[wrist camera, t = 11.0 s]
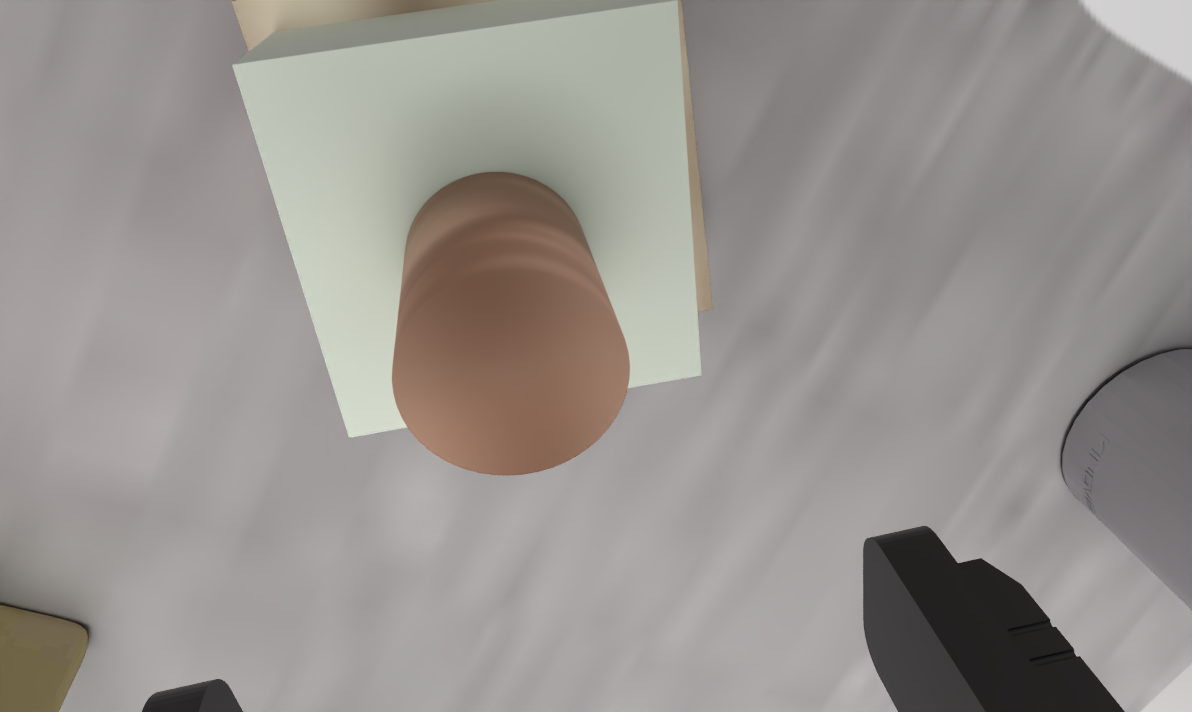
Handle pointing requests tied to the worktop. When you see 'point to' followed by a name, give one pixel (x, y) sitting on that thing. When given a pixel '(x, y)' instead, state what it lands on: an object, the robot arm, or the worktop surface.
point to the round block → (505, 329)
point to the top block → (477, 162)
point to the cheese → (37, 660)
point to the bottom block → (300, 3)
